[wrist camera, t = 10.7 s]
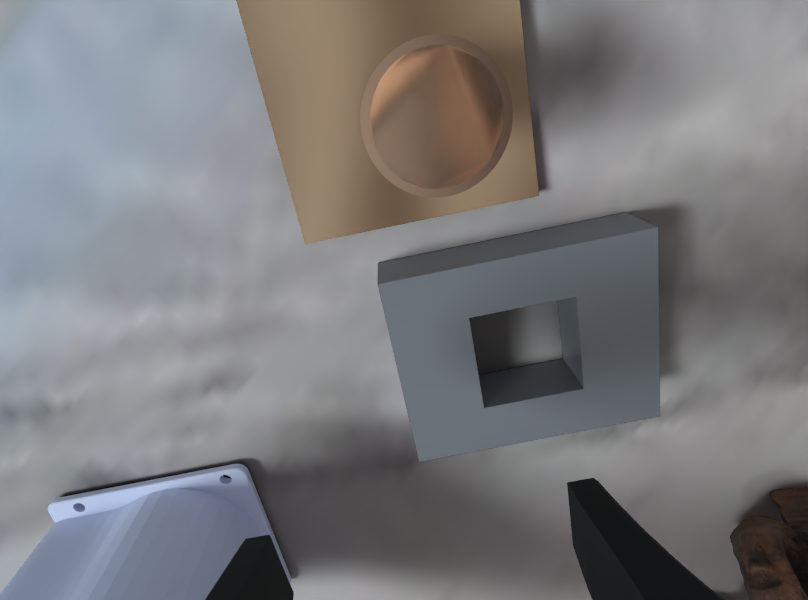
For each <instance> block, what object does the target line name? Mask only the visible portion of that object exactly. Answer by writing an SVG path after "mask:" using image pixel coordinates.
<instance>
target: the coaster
mask: <svg viewBox="0 0 808 600" xmlns="http://www.w3.org/2000/svg"><path fill="white" fill-rule="evenodd" d="M236 1H237V4H238V8H239V12H240V15H241V19H242V22H243V26H244V29H245V33H246V36H247V40H248V43H249V47H250V50H251V54H252V58H253V61H254V65H255V68H256V72H257V75H258V79H259V82H260V86H261V89H262V93H263V96H264V100H265V104H266V107H267V111H268V114H269V118H270V121H271V125H272V128H273V132H274V135H275V139H276V142H277V146H278V150H279V153H280V157H281V160H282V164H283V167H284V171H285V174H286V178H287V181H288V185H289V188H290V192H291V196H292V199H293V203H294V206H295V210H296V213H297V217H298V220H299V224H300V227H301V231H302V234H303V238H304V242H305V244H308V243H313V242H317V241H322V240H327V239H332V238H337V237H342V236H346V235H351V234H356V233H361V232H366V231H371V230H375V229H380V228H385V227H390V226H395V225H400V224H405V223H409V222H414V221H419V220H424V219H429V218H434V217H438V216H443V215H448V214H453V213H458V212H463V211H467V210H472V209H477V208H482V207H487V206H492V205H496V204H501V203H506V202H511V201H516V200H521V199H525V198H530V197H535V196H539V191H538V180H537V170H536V160H535V150H534V140H533V130H532V120H531V110H530V100H529V90H528V79H527V69H526V59H525V49H524V39H523V29H522V19H521V9H520V0H236ZM434 34H443V35H451V36H456V37H460V38H463V39H465V40H468V41H470V42H472V43H474V44H475V45H477V46H478V47H480V48H481V49H483V50H484V51H485V52H486V53H487V54H488V55H489V56H490V57H491V58H492V59H493V60H494V61H495V62H496V64H497V65H498V66H499V68H500V70H501V71H502V73H503V75H504V77H505V79H506V81H507V84H508V86H509V90H510V94H511V98H512V106H513V121H512V129H511V134H510V138H509V141H508V144H507V147H506V149H505V151H504V153H503V155H502V157H501V159H500V160H499V162H498V163H497V165H496V166H495V167H494V169H493V170H492V171H491V172H490V173H489V174H488V175H487V176H486V177H485V178H484V179H483V180H482V181H480V182H479V183H478V184H476V185H475V186H473V187H472V188H470V189H468V190H466V191H464V192H461V193H459V194H456V195H452V196H448V197H440V198H429V197H422V196H417V195H414V194H410V193H408V192H406V191H404V190H401V189H400V188H398V187H396V186H395V185H393V184H392V183H391V182H390V181H388V180H387V179H386V178H385V177H384V176H383V175H382V174H381V173H380V172H379V171H378V169H377V168H376V166H375V165H374V164H373V162H372V160H371V158H370V156H369V155H368V152H367V150H366V147H365V145H364V141H363V138H362V134H361V127H360V107H361V100H362V96H363V92H364V89H365V87H366V84H367V82H368V80H369V78H370V76H371V75H372V73H373V71H374V70H375V69H376V67H377V66H378V65H379V63H380V62H381V61H382V60H383V59H384V58H385V57H386V56H387V55H388V54H389V53H390V52H392V51H393V50H394V49H395V48H397V47H398V46H400V45H402V44H403V43H405V42H407V41H410V40H412V39H414V38H417V37H421V36H425V35H434Z"/></svg>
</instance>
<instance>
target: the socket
mask: <svg viewBox="0 0 808 600" xmlns="http://www.w3.org/2000/svg"><path fill="white" fill-rule="evenodd" d="M378 288H379V292H380V297H381V301H382V305H383V309H384V314H385V318H386V322H387V327H388V331H389V335H390V339H391V344H392V348H393V352H394V356H395V361H396V365H397V369H398V373H399V378H400V382H401V386H402V391H403V395H404V399H405V403H406V408H407V412H408V416H409V420H410V425H411V429H412V433H413V438H414V442H415V446H416V450H417V455H418V459H419V462H422V461H427V460H432V459H437V458H443V457H448V456H453V455H458V454H464V453H469V452H474V451H479V450H485V449H490V448H495V447H500V446H506V445H511V444H516V443H522V442H527V441H532V440H537V439H543V438H548V437H553V436H558V435H564V434H569V433H574V432H579V431H585V430H590V429H595V428H600V427H606V426H611V425H616V424H621V423H627V422H632V421H637V420H643V419H648V418H653V417H658V416H660V352H659V260H658V227H656V226H654V225H652V224H650V223H648V222H646V221H644V220H642V219H639V218H637V217H635V216H633V215H631V214H629V213H627V212H625V213H620V214H615V215H610V216H605V217H600V218H595V219H590V220H586V221H581V222H576V223H571V224H566V225H561V226H556V227H551V228H546V229H542V230H537V231H532V232H527V233H522V234H517V235H512V236H507V237H502V238H497V239H493V240H488V241H483V242H478V243H473V244H468V245H463V246H458V247H453V248H449V249H444V250H439V251H434V252H429V253H424V254H419V255H414V256H409V257H405V258H400V259H395V260H390V261H385V262H380V263H378ZM557 300H558V311H559V322H560V332H561V343H562V354H563V359H558V360H553V361H548V362H543V363H538V364H533V365H527V366H522V367H517V368H512V369H507V370H502V371H497V372H492V373H486V374H481V375H478V369H477V363H476V357H475V351H474V345H473V339H472V333H471V327H470V321H469V318H472V317H477V316H482V315H487V314H492V313H497V312H502V311H507V310H512V309H517V308H522V307H527V306H532V305H537V304H542V303H547V302H552V301H557Z"/></svg>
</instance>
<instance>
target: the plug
mask: <svg viewBox="0 0 808 600" xmlns="http://www.w3.org/2000/svg"><path fill="white" fill-rule="evenodd" d="M512 121H513V106H512V98H511V94H510V90H509V86H508V84H507V81H506V79H505V77H504V75H503V73H502V71H501V70H500V68H499V66H498V65H497V64H496V62H495V61H494V60H493V59H492V58H491V57H490V56H489V55H488V54H487V53H486V52H485V51H484V50H483V49H481V48H480V47H478V46H477V45H475V44H474V43H472V42H470V41H468V40H465V39H463V38H460V37H456V36H451V35H443V34H434V35H425V36H421V37H417V38H414V39H412V40H410V41H407V42H405V43H403V44H402V45H400V46H398V47H397V48H395V49H394V50H393V51H392V52H390V53H389V54H388V55H387V56H386V57H385V58H384V59H383V60H382V61H381V62H380V63H379V65H378V66H377V67H376V69H375V70H374V71H373V73H372V75H371V76H370V78H369V80H368V82H367V84H366V87H365V89H364V92H363V96H362V100H361V107H360V127H361V134H362V138H363V141H364V145H365V147H366V150H367V152H368V155H369V156H370V158H371V160H372V162H373V164H374V165H375V166H376V168H377V169H378V171H379V172H380V173H381V174H382V175H383V176H384V177H385V178H386V179H387V180H388V181H390V182H391V183H392V184H393V185H395V186H396V187H398V188H400V189H401V190H404V191H406V192H408V193H410V194H414V195H417V196H422V197H429V198H440V197H448V196H452V195H456V194H459V193H461V192H464V191H466V190H468V189H470V188H472V187H473V186H475V185H476V184H478V183H479V182H480V181H482V180H483V179H484V178H485V177H486V176H487V175H488V174H489V173H490V172H491V171H492V170H493V169H494V167H495V166H496V165H497V163H498V162H499V160H500V159H501V157H502V155H503V153H504V151H505V149H506V147H507V144H508V141H509V138H510V134H511V129H512Z"/></svg>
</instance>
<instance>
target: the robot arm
mask: <svg viewBox="0 0 808 600" xmlns="http://www.w3.org/2000/svg"><path fill="white" fill-rule="evenodd" d="M223 475H228V476H230V477H231V478H226V477H224V476H223ZM567 485H568V496H569V506H570V517H571V527H572V538H573V546H574V549H575V552H576V555H577V558H578V561H579V564H580V567H581V570H582V573H583V576H584V578H585V581H586V584H587V587H588V590H589V592H590V594H591V597H592V599H593V600H724V599H722V598H721V597H720V596H718V595H717V594H716V593H715V592H714V591H712V590H711V589H710V588H709V587H707V586H706V585H705V584H704V583H703V582H702V581H700V580H699V579H698V578H697V577H696V576H695V575H693V574H692V573H691V572H690V571H689V570H687V569H686V568H685V567H684V566H683V565H682V564H681V563H679V562H678V561H677V560H676V559H675V558H674V557H673V556H672V555H671V554H669V553H668V552H667V551H666V550H665V549H664V548H663V547H662V546H661V545H660V544H659V543H658V542H657V541H656V540H655V539H653V538H652V537H651V536H650V535H649V534H648V533H647V532H646V531H645V530H644V529H643V528H642V527H641V526H640V525H639V524H638V523H637V522H636V521H635V520H634V519H633V518H632V517H631V516H630V515H629V514H628V513H627V512H626V511H625V510H624V509H623V508H622V507H621V506H620V505H619V504H618V503H617V502H616V500H615V499H614V498H613V497H612V496H611V495H610V494H609V493H608V492H607V491H606V490H605V488H604V487H603V486H602V485H601V484H600V483H599V482H598V481H597V480H596V479H594V478H591V479H585V480H579V481H573V482H568V483H567ZM81 504H83V505H84V506H83V505H81ZM48 512H49V514H50V515H51V517H52V519H53V520H54V522H55V523H54V524H53V526H52V527H51V528H50V530H49V531H48V532H47V533H46V535H45V536H44V537H43V539H42V540H41V541H40V543H39V544H38V545H37V547H36V548H35V549H34V551H33V552H32V553H31V554H30V556H29V557H28V558H27V560H26V561H25V562H24V564H23V565H22V566H21V568H20V569H19V570H18V571H17V573H16V574H15V575H14V577H13V578H12V579H11V581H10V582H9V583H8V585H7V586H6V587H5V589H4V590H3V591H2V592H1V594H0V600H293V594H294V593H293V590H292V588H291V585H290V582H291V576H290V574H289V571H288V569H287V566H286V564H285V561H284V559H283V556H282V554H281V551H280V549H279V546H278V543H277V541H276V538H275V536H274V533H273V531H272V528H271V526H270V523H269V521H268V518H267V516H266V513H265V511H264V508H263V506H262V503H261V500H260V498H259V495H258V493H257V490H256V488H255V485H254V483H253V480H252V478H251V475H250V473H249V470H248V469H247V467H245V466H244V465H242V464H231V465H226V466H221V467H216V468H210V469H205V470H200V471H195V472H190V473H184V474H179V475H174V476H169V477H164V478H158V479H153V480H148V481H143V482H138V483H132V484H127V485H122V486H117V487H112V488H106V489H101V490H96V491H91V492H86V493H81V494H75V495H70V496H65V497H60V498H56V499H54V500H53V501H52V503H51V504H50V505H49V506H48Z"/></svg>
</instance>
